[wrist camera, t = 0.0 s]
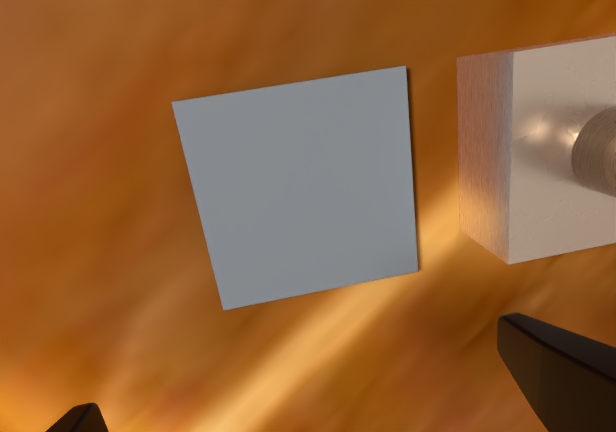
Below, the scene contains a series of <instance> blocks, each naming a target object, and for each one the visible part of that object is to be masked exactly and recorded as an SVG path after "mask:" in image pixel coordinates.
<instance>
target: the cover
mask: <svg viewBox="0 0 616 432" xmlns="http://www.w3.org/2000/svg"><path fill="white" fill-rule="evenodd" d="M456 60H457V112H458V165H459V217H460V230H461V231H462V232H464V233H465V234H466V235H468V236H469V237H471V238H472V239H473V240H475V241H476V242H478V243H479V244H480V245H482V246H483V247H484V248H486V249H487V250H489V251H490V252H491V253H493V254H494V255H496V256H497V257H498V258H500V259H501V260H503V261H504V262H505V263H507V264H508V265H509V264H514V263H519V262H524V261H529V260H534V259H539V258H544V257H548V256H553V255H558V254H563V253H568V252H573V251H578V250H583V249H588V248H593V247H598V246H603V245H608V244H612V243H616V33H610V34H604V35H597V36H591V37H585V38H578V39H572V40H565V41H559V42H553V43H546V44H540V45H533V46H527V47H521V48H514V49H508V50H501V51H495V52H489V53H482V54H476V55H469V56H463V57H457V58H456Z"/></svg>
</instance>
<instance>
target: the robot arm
mask: <svg viewBox="0 0 616 432" xmlns="http://www.w3.org/2000/svg"><path fill="white" fill-rule="evenodd" d="M497 348H498V352H499V354H500V356H501V358H502V360H503V361H504V363H505V365H506V366H507V368H508V369H509V371H510V373H511V374H512V376H513V378H514V379H515V381H516V383H517V384H518V386H519V387H520V389H521V391H522V392H523V394H524V396H525V397H526V399H527V400H528V402H529V404H530V405H531V407H532V408H533V410H534V412H535V413H536V415H537V416H538V418H539V419H540V420H541V422H542V423H543V424H544V426H545V427H546V429H547V430H548V431H549V432H616V348H615V347H612V346H609V345H607V344H604V343H601V342H598V341H595V340H593V339H590V338H587V337H584V336H582V335H579V334H576V333H573V332H570V331H568V330H565V329H562V328H559V327H557V326H554V325H551V324H548V323H545V322H543V321H540V320H537V319H534V318H532V317H529V316H526V315H523V314H520V313H516V312H515V313H510V314H505V315H501V316H500V317H499V318H498V322H497ZM46 432H108V429H107V426H106V424H105V421H104V419H103V416H102V414H101V411H100V409H99V407H98V405H97V404H96V403H87V404H82V405H78V406H75V407H73V408H72V409H70V410H69V411H68V412H67V413H66V414H65V415H64V416H63V417H61V418H60V419H59V420H58V421H57V422H56V423H55V424H54V425H52V426H51V427H50V428H49V429H48V430H47V431H46Z"/></svg>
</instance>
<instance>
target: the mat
mask: <svg viewBox="0 0 616 432" xmlns="http://www.w3.org/2000/svg"><path fill="white" fill-rule="evenodd" d="M172 106H173V110H174V114H175V118H176V122H177V126H178V130H179V134H180V138H181V142H182V146H183V150H184V154H185V158H186V162H187V166H188V170H189V174H190V178H191V182H192V186H193V190H194V194H195V198H196V202H197V206H198V210H199V214H200V218H201V222H202V226H203V230H204V234H205V238H206V242H207V246H208V250H209V254H210V258H211V262H212V266H213V270H214V274H215V278H216V282H217V286H218V290H219V294H220V298H221V302H222V306H223V310H228V309H233V308H238V307H243V306H248V305H253V304H258V303H263V302H268V301H273V300H278V299H283V298H288V297H293V296H298V295H303V294H308V293H313V292H318V291H323V290H328V289H333V288H338V287H343V286H348V285H353V284H358V283H363V282H368V281H373V280H378V279H383V278H388V277H393V276H398V275H403V274H408V273H413V272H418V262H417V245H416V228H415V211H414V194H413V177H412V160H411V143H410V126H409V109H408V92H407V75H406V66H399V67H393V68H386V69H380V70H374V71H367V72H361V73H354V74H348V75H342V76H335V77H329V78H322V79H316V80H310V81H303V82H297V83H290V84H284V85H278V86H271V87H265V88H258V89H252V90H246V91H239V92H233V93H226V94H220V95H214V96H207V97H201V98H194V99H188V100H182V101H175V102H172Z"/></svg>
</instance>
